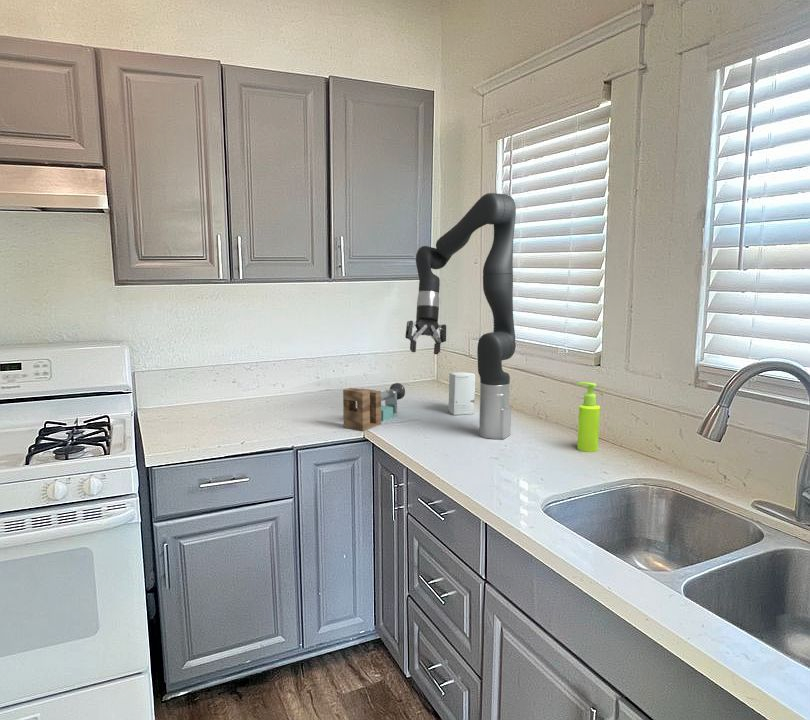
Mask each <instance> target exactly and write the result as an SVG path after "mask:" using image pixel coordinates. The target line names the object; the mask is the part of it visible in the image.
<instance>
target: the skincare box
mask: <svg viewBox="0 0 810 720" xmlns="http://www.w3.org/2000/svg"><path fill="white" fill-rule="evenodd" d="M448 375H449V376H448V377H449V379H448V381H449V382H448V383H449V384H448V409H447V410H448V412H449V413H450V414H451V415H452V416H462V415H473V414H475V395H476V394H475V393H476V392H475V389H476V388H475V387H476V374H475V373H472V372H469V371H468V372H467V371H465V372H464V371H463V372H462V371H461V372H459V371H458V372H457V371H456V372H449V373H448Z"/></svg>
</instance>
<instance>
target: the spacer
mask: <svg viewBox="0 0 810 720" xmlns="http://www.w3.org/2000/svg"><path fill="white" fill-rule="evenodd" d="M390 418H391V419H393V418H394V414H393V407H389V406H385V405H382V404H381V422H385V421H387V419H388V420H391V419H390ZM384 420H385V421H384Z"/></svg>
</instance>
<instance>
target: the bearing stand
mask: <svg viewBox="0 0 810 720" xmlns="http://www.w3.org/2000/svg"><path fill="white" fill-rule="evenodd" d="M381 392H382V391H381V390H374V389H368V388H356V387H348V388H344V389H343V390H342V394H343V395H342V403H343V428H345V429H350V430H354V431H359V432H360V431H361V432H365V431H367V430H371V429H372V428H375V427H377V426H381V425H382V421H381V405H382V401H381ZM370 397H371V405H370Z"/></svg>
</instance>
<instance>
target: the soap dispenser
mask: <svg viewBox="0 0 810 720" xmlns="http://www.w3.org/2000/svg"><path fill="white" fill-rule="evenodd" d="M576 385H577V386H587V389H586V390H587V392H586V393H584V394H583V395H584V396H583V404H579V406H578V423H577V424H578V425H577V427H578V428H577V446H576V448H577V450H578V451H579V452H580V451H581V452H586V453H594V452H595V453H596V452H597V451H598V450H599V438H600V437H599V436H600V419H601V418H600V417H601V416H600V415H601V406H600V405H598V404H597V394H595V393H594V388H595V387H597V385H598V384H597V383H594V382H589V381H582V382H577V383H576Z"/></svg>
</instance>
